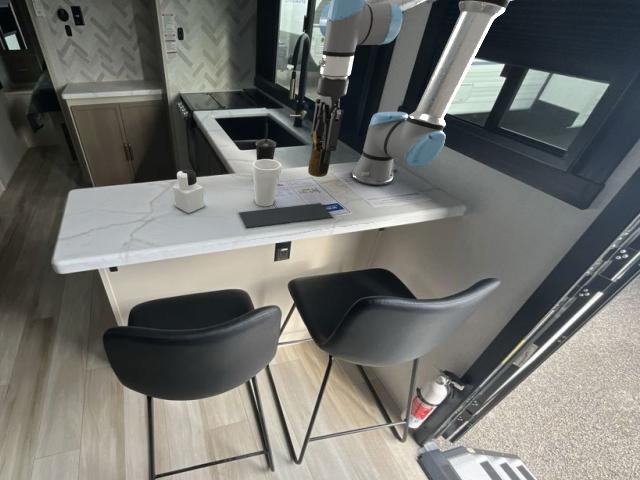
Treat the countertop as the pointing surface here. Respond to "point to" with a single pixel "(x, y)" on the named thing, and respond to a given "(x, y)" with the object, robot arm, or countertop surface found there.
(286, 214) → the edge runner mat
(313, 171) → the utensil holder
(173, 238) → the countertop surface
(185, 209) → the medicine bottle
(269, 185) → the foam cup
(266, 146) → the drinking cup
